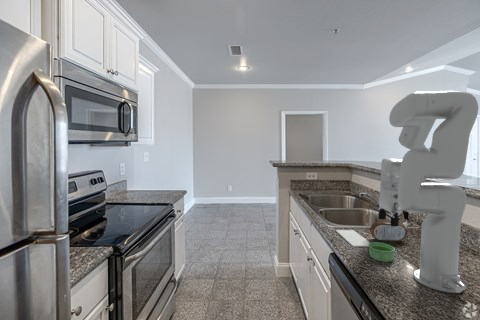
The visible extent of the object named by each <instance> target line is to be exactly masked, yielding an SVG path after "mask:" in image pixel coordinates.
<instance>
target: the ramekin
mask: <svg viewBox="0 0 480 320" xmlns="http://www.w3.org/2000/svg"><path fill="white" fill-rule="evenodd" d="M368 248H369V249H368V250H369V253H368V254H369V256H370V258H372V259H373V260H375V261H378V262H383V263H387V262H388V263H390V262H392V261H393V260H394V255H395V251H396V249H395V247H394V246H392V245H391V244H387V243H384V242H379V241H377V242H375V241H374V242H370V243H369V247H368Z"/></svg>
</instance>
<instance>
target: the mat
mask: <svg viewBox="0 0 480 320" xmlns="http://www.w3.org/2000/svg"><path fill="white" fill-rule="evenodd" d="M335 232H336V233H337V234H338V235H339V236H341V237H342V239H344V240H345V241H346V242H347V243H348V244H349V245H350V246H351V247H353V248H369V243H371V242H370V241H369V240H368V239H366V238H364V237H363V236H362V235H361V234H360V233H358V232H357V231H355V230H353V229H336V230H335Z"/></svg>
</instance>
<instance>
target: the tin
mask: <svg viewBox="0 0 480 320" xmlns="http://www.w3.org/2000/svg"><path fill="white" fill-rule="evenodd" d="M390 224H391V221H376V222H373V223H372V224H371V226H370V228H369V231H370V235H371V236H372V237H373V238H374V239H376V240H378V241H383V242H401V241H403V240H404V239H405V238H406V236H407V228H406V227H405V226H404V225H403V224H401V222H399V224H398V226H391V225H390Z"/></svg>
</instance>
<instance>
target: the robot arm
mask: <svg viewBox="0 0 480 320" xmlns="http://www.w3.org/2000/svg"><path fill="white" fill-rule="evenodd" d="M478 114H479V102H478V100H477V98H476V96H474V95H473V94H472V93H469V92H466V91H462V90H461V91H459V90H444V91H443V90H440V91H439V90H438V91H436V90H435V91H416V92H411V93H410V94H408V95H406V96H405V97H403V98H402V99H400V100H398V102H397V103H396V104H395V105H394V106H393V107H392V108H391V110H390V112H389V116H388V120H389V123H390V126H392V127H394V128H401V132H400V134H399V136H398V143H399V144H400V145H401V146H402V147H404V148H406V149H409V150H408V151H406V152H405V154H404V155H403V157H402V159H399V158H389V157H388V158H383V159H382V160H381V162H380V163H381V166H380V167H381V169H380V187H379V188H380V191H379V197H378V199H377V207H378V219H379V220H386V219H387V212H389V213H390V215H391V217H390V222H391V224H390V225H391V226H398V224H399V223H400V222H399V221H400V218H401V215H402V212H403V211H404V212H407V213H411V214H414V213H415V214H427V215H426V216H425V218H423V221H422V223H421V230H420V231H421V232H420V252H419V253H420V254H419V268H418V269H416V270H414V271H413V278H414V279H415V281H417V282H418V283H420V284H421V285H423V286H424V287H427V288H430V289H432V290H435V291H438V292H442V293H443V292H444V293H451V294H460V293H462V292H463V291H465V290H466V289H467V285H465V284H464V283H463V282H462V281H461V276H460V275H459V258H460V257H459V256H460V241H461V227H462V220H463V216H464V212H465V209H466V205H467V200H468V199H467V195H466V192H465V191H464V189H463V188H462V187H460V186H458V185H456V184H453V183H447V182H424V180H434V181H435V180H438V181H439V180H440V181H441V180H442V181H444V180H445V181H447V180H457V179H459V178H460V177H462V176H463V174H464V172H465V167H466V162H467V155H468V151H469V143H470V142H469V141H470V136H471V132H472V130H473V127H474V125H475V123H476V120H477V117H478ZM436 120H443V121H442V122H441V123H440V124H439V125H438V126H437V127H436V128H435V130H434V131H433V133H432V139H431V145H430V147H429V148H427V146H426V145H425V142H426V140H427V139H428V136H429V134H430V132H431V131H432V128H433V126H434V125H435V122H436Z"/></svg>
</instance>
